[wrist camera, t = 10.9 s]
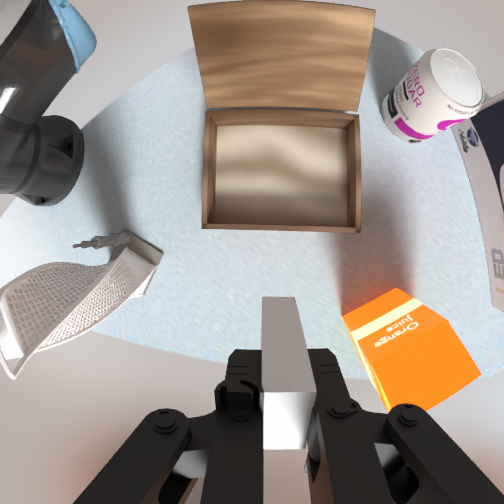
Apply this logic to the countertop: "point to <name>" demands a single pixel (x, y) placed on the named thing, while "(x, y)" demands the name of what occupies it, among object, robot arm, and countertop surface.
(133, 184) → the countertop surface
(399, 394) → the orange juice
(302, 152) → the box
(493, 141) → the packaging
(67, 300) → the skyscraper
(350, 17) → the lid
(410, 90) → the supplement can
